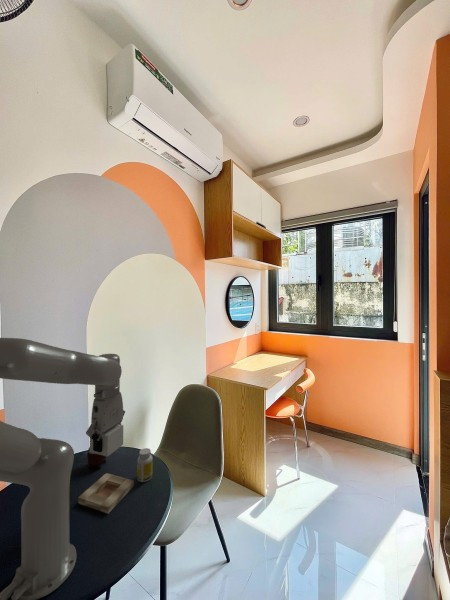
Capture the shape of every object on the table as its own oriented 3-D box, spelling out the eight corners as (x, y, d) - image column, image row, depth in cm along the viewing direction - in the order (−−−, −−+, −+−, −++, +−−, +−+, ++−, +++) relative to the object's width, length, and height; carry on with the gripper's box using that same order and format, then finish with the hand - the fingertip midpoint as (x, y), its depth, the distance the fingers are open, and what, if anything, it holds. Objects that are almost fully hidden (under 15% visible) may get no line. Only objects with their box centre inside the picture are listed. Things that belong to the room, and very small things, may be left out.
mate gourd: (90, 474, 96) (90, 434, 96) (84, 463, 102) (84, 426, 102) (110, 465, 101) (110, 427, 101) (104, 455, 107) (104, 420, 107)
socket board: (108, 513, 79) (108, 507, 79) (78, 503, 82) (78, 497, 82) (133, 486, 90) (133, 480, 90) (106, 478, 94) (106, 472, 94)
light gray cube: (107, 456, 81) (107, 435, 81) (89, 452, 83) (89, 431, 83) (123, 444, 88) (123, 425, 88) (106, 440, 90) (106, 421, 90)
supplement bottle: (154, 472, 97) (154, 447, 97) (149, 483, 92) (149, 456, 91) (140, 471, 97) (141, 446, 97) (134, 482, 92) (134, 455, 92)
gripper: (95, 403, 76) (95, 462, 76) (133, 384, 93) (133, 433, 93) (76, 399, 78) (75, 457, 79) (116, 382, 95) (116, 430, 95)
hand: (106, 444), depth 86 cm, fingers closed on light gray cube, 7 cm apart
